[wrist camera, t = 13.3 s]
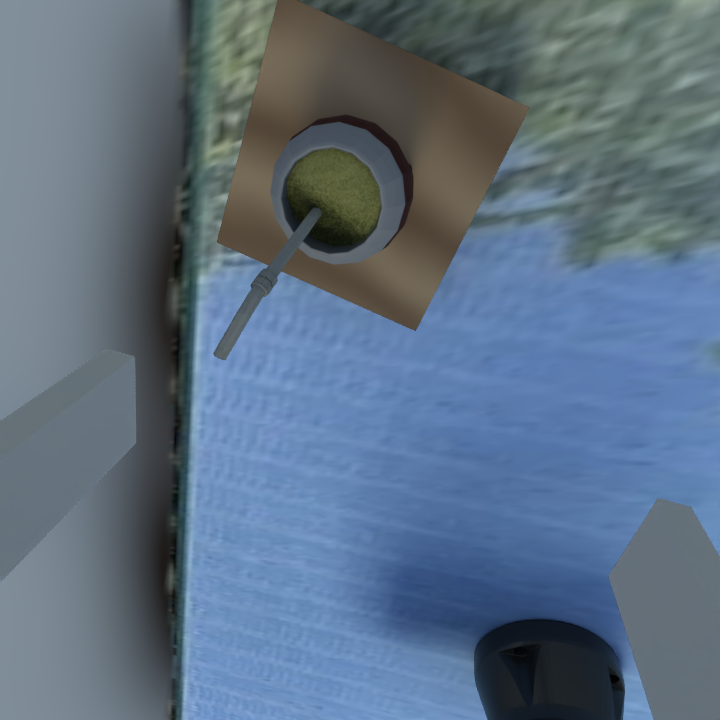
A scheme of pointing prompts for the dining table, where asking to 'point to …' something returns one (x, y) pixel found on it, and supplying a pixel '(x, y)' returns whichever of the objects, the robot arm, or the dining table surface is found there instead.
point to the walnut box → (396, 117)
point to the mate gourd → (332, 201)
